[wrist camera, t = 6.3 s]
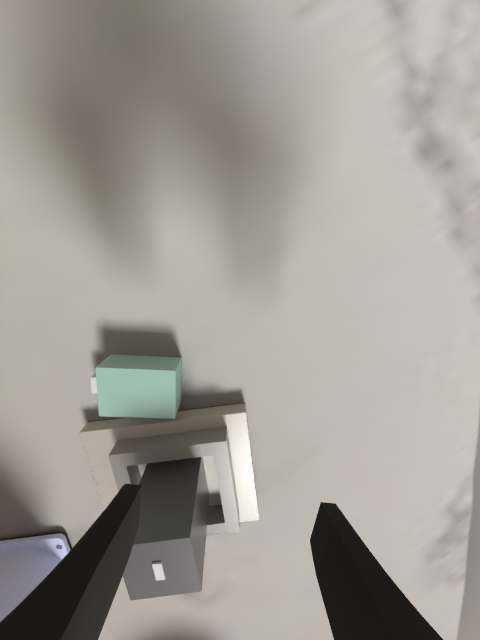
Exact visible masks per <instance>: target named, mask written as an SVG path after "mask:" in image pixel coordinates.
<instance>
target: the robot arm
mask: <svg viewBox="0 0 480 640" xmlns="http://www.w3.org/2000/svg"><path fill="white" fill-rule="evenodd" d="M141 488H142V485H135V484H125V485H123V486H122V487H121V489H120V490H119V492H118V493H117V494H116V496H115V497H114V498H113V500H112V501H111V502H110V504H109V505H108V506H107V508H106V509H105V510H104V511H103V513H102V514H101V515H100V516H99V518H98V519H97V520H96V521H95V522H94V524H93V525H92V526H91V527H90V528H89V530H88V531H87V532H86V533H85V534H84V535H83V537H82V538H81V539H80V540H79V541H78V542H77V544H76V545H75V546H74V547H73V548H72V549H71V550H70V548H69V545H68V542H67V539H66V537H65V535H63V534H60V533H59V534H51V535H43V536H35V537H27V538H19V539H11V540H3V541H0V640H98V638H99V635H100V633H101V630H102V627H103V625H104V622H105V620H106V617H107V615H108V612H109V609H110V607H111V604H112V602H113V599H114V596H115V594H116V591H117V589H118V586H119V584H120V581H121V578H122V576H123V573H124V570H125V568H126V565H127V563H128V560H129V557H130V553H131V550H132V547H133V543H134V540H135V537H136V533H137V530H138V526H139V514H140V501H141ZM310 543H311V549H312V555H313V561H314V566H315V571H316V576H317V579H318V583H319V587H320V590H321V594H322V598H323V601H324V605H325V608H326V612H327V616H328V619H329V623H330V626H331V630H332V633H333V637H334V640H443V639H442V638H441V637H440V636H439V634H438V633H437V632H436V631H435V630H434V629H433V628H432V627H431V626H430V624H429V623H428V622H427V621H426V620H425V619H424V618H423V617H422V615H421V614H420V613H419V612H418V611H417V610H416V608H415V607H414V606H413V605H412V604H411V603H410V601H409V600H408V599H407V598H406V597H405V595H404V594H403V593H402V592H401V590H400V589H399V588H398V587H397V586H396V584H395V583H394V582H393V581H392V579H391V578H390V577H389V575H388V574H387V573H386V572H385V570H384V569H383V568H382V566H381V565H380V564H379V562H378V561H377V560H376V559H375V557H374V556H373V555H372V553H371V552H370V551H369V549H368V548H367V547H366V545H365V544H364V543H363V541H362V540H361V538H360V537H359V536H358V534H357V533H356V532H355V530H354V529H353V527H352V526H351V525H350V523H349V522H348V520H347V519H346V518H345V516H344V515H343V513H342V512H341V511H340V509H339V508H338V507H337V505H336V504H333V503H323V502H321V504H320V507H319V511H318V514H317V518H316V521H315V525H314V528H313V532H312V535H311V539H310Z"/></svg>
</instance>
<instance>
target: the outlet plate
mask: <svg viewBox="0 0 480 640" xmlns="http://www.w3.org/2000/svg"><path fill="white" fill-rule="evenodd" d="M80 436H81V439H82V442H83V446H84V449H85V452H86V455H87V458H88V462H89V465H90V468H91V471H92V475H93V478H94V481H95V484H96V487H97V491H98V494H99V497H100V500H101V504H102V507H103V510H105V509H106V508H107V506H108V505H109V504H110V502H111V501H112V500H113V498H114V497H115V496H116V494H117V493H118V492H119V490H120V489H121V487H122V486H123V485H125V484H135V485H139V483H140V480H141V478H142V475H143V473H144V470H145V468H146V465H147V463H155V462H163V461H171V460H179V459H188V458H196V457H203V463H204V468H205V474H206V479H207V485H208V491H209V507H208V519H207V530H206V536H209V535H217V534H225V533H232V532H240V522H245V521H252V520H259V515H258V506H257V498H256V489H255V481H254V473H253V465H252V457H251V449H250V441H249V433H248V425H247V417H246V408H245V403H241V404H233V405H225V406H217V407H209V408H200V409H192V410H184V411H178V412H177V415H176V418H175V419H167V418H136V417H127V418H119V419H110V420H102V421H94V422H88V423H87V424H86V425H85V427H84V428H83V429H82V430H81V431H80Z"/></svg>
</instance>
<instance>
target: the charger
mask: <svg viewBox="0 0 480 640" xmlns="http://www.w3.org/2000/svg"><path fill="white" fill-rule="evenodd" d="M139 485H142V488H141V501H140V514H139V526H138V530H137V533H136V537H135V540H134V543H133V547H132V550H131V553H130V557H129V560H128V563H127V565H126V568H125V570H124V573H123V578H124V581H125V584H126V587H127V590H128V594H129V597H130V600H137V599H145V598H153V597H161V596H168V595H176V594H184V593H192V592H200V591H201V589H202V577H203V566H204V554H205V542H206V530H207V519H208V507H209V491H208V485H207V479H206V474H205V468H204V463H203V457H196V458H188V459H179V460H171V461H163V462H155V463H147V465H146V468H145V470H144V473H143V475H142V478H141V480H140V483H139Z"/></svg>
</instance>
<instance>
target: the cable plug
mask: <svg viewBox="0 0 480 640" xmlns="http://www.w3.org/2000/svg"><path fill="white" fill-rule="evenodd" d="M95 369H96V373H95V374H94V375H93V376H92V377H91V390H92V394H97V397H98V411H99V416H105V417H136V418H167V419H175V418H176V415H177V412H178V409H179V406H180V403H181V374H182V357H163V356H142V355H120V354H111V355H109V356H108V357H107V358H106V359H105V360H104V361H102V362H101V363H100V364H99V365H98V366H96V367H95Z"/></svg>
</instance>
